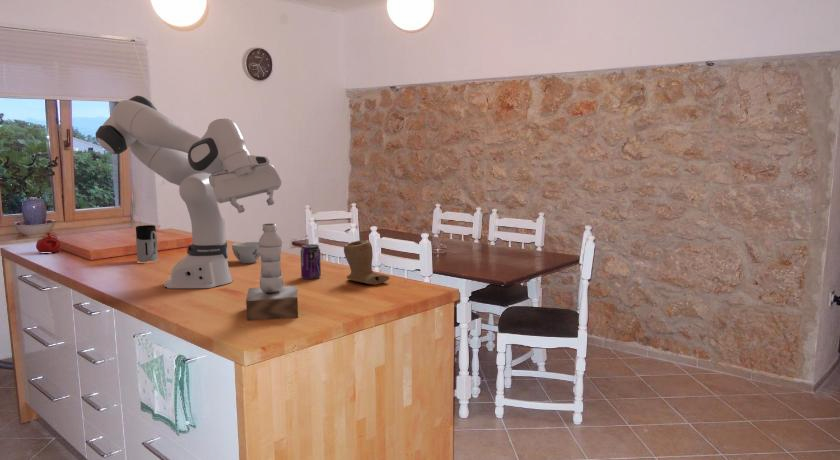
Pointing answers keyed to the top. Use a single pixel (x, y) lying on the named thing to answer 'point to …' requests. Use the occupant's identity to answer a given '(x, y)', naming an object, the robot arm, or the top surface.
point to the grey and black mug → (146, 243)
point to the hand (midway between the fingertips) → (256, 208)
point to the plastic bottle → (270, 260)
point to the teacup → (246, 251)
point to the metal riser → (272, 304)
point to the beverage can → (310, 261)
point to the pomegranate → (48, 244)
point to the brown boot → (362, 263)
